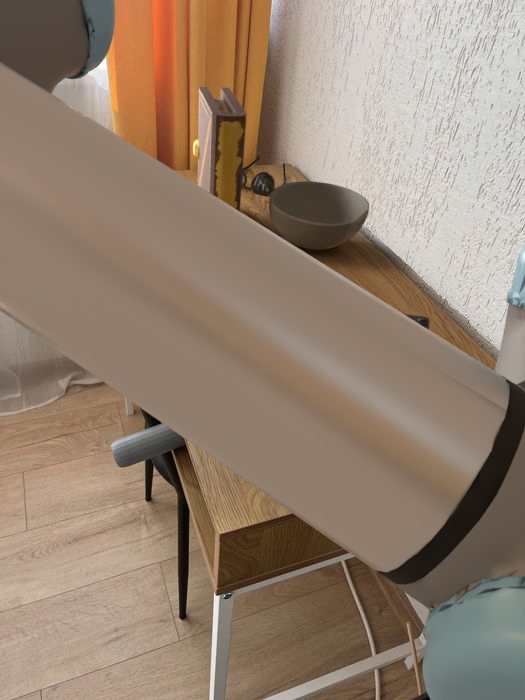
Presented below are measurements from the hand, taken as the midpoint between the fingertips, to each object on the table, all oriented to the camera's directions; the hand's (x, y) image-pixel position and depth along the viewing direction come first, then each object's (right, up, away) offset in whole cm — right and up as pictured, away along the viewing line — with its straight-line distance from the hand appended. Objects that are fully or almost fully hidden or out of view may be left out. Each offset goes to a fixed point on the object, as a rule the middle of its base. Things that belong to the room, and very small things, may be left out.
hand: (277, 289), depth 57 cm
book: (-12, +23, +61) cm, 66 cm away
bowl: (+9, +17, +57) cm, 60 cm away
